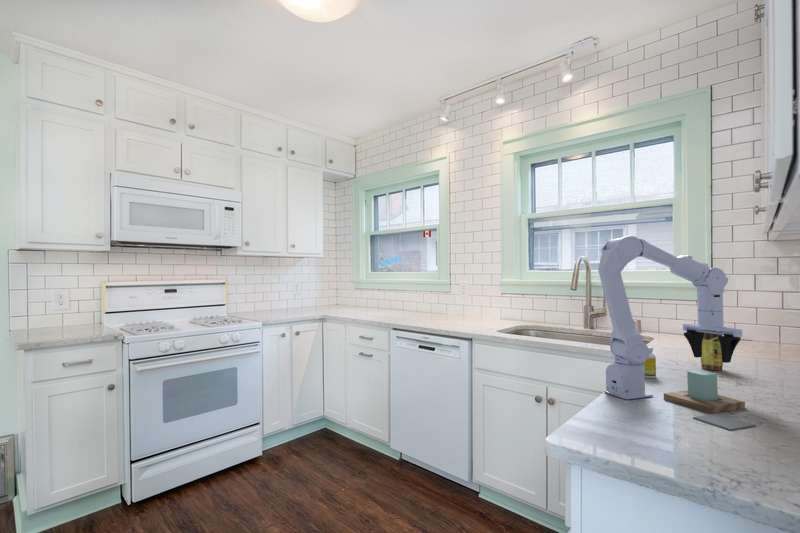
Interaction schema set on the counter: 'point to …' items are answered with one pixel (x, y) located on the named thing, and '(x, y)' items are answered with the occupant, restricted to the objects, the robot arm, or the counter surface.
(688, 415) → the counter surface
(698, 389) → the peg
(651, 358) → the supplement bottle
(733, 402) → the block
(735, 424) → the rubber mat
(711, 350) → the sauce bottle
